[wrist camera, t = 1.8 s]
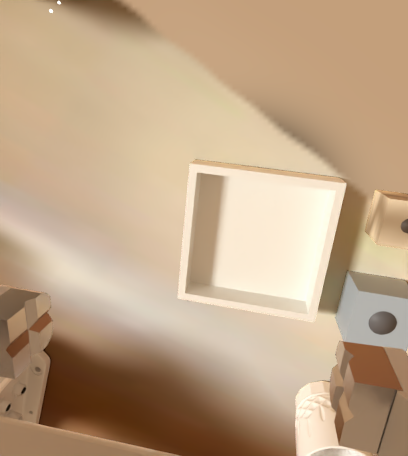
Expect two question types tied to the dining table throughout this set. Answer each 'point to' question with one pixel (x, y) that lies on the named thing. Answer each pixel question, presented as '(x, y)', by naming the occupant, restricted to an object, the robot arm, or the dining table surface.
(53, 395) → the dining table surface
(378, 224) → the maple block
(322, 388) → the white cup
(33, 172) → the dining table surface
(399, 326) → the slate block
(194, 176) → the cream tray
